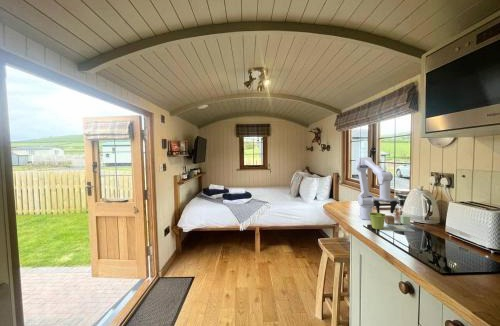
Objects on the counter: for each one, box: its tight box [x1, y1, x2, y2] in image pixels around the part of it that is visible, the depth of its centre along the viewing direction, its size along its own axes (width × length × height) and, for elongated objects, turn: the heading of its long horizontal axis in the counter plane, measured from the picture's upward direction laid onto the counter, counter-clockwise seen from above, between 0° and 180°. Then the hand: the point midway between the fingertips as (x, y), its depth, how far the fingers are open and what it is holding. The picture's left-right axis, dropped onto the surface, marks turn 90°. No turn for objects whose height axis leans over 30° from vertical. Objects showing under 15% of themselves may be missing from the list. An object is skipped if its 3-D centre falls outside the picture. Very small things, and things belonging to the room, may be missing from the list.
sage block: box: [399, 214, 411, 225], centre depth 146 cm, size 4×4×5 cm
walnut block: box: [384, 214, 395, 225], centre depth 146 cm, size 4×4×5 cm
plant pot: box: [369, 212, 387, 231], centre depth 138 cm, size 9×9×9 cm
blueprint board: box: [386, 224, 416, 233], centre depth 136 cm, size 11×11×1 cm
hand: (385, 212), depth 138 cm, fingers open, 7 cm apart
